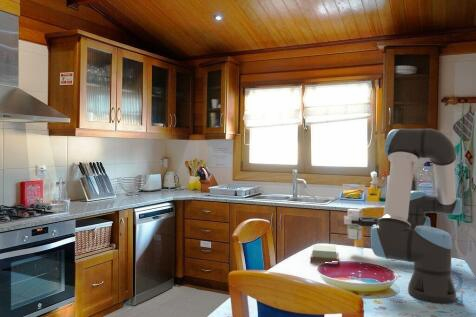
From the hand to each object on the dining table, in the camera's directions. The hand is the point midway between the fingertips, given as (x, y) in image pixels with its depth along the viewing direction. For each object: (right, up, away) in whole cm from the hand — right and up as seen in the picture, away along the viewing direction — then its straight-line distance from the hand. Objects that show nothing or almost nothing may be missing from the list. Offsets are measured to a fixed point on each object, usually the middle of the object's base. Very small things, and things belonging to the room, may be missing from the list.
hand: (344, 219), depth 196 cm
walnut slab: (-12, -17, -14) cm, 25 cm away
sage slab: (-13, -14, -14) cm, 23 cm away
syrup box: (+5, -9, -1) cm, 10 cm away
